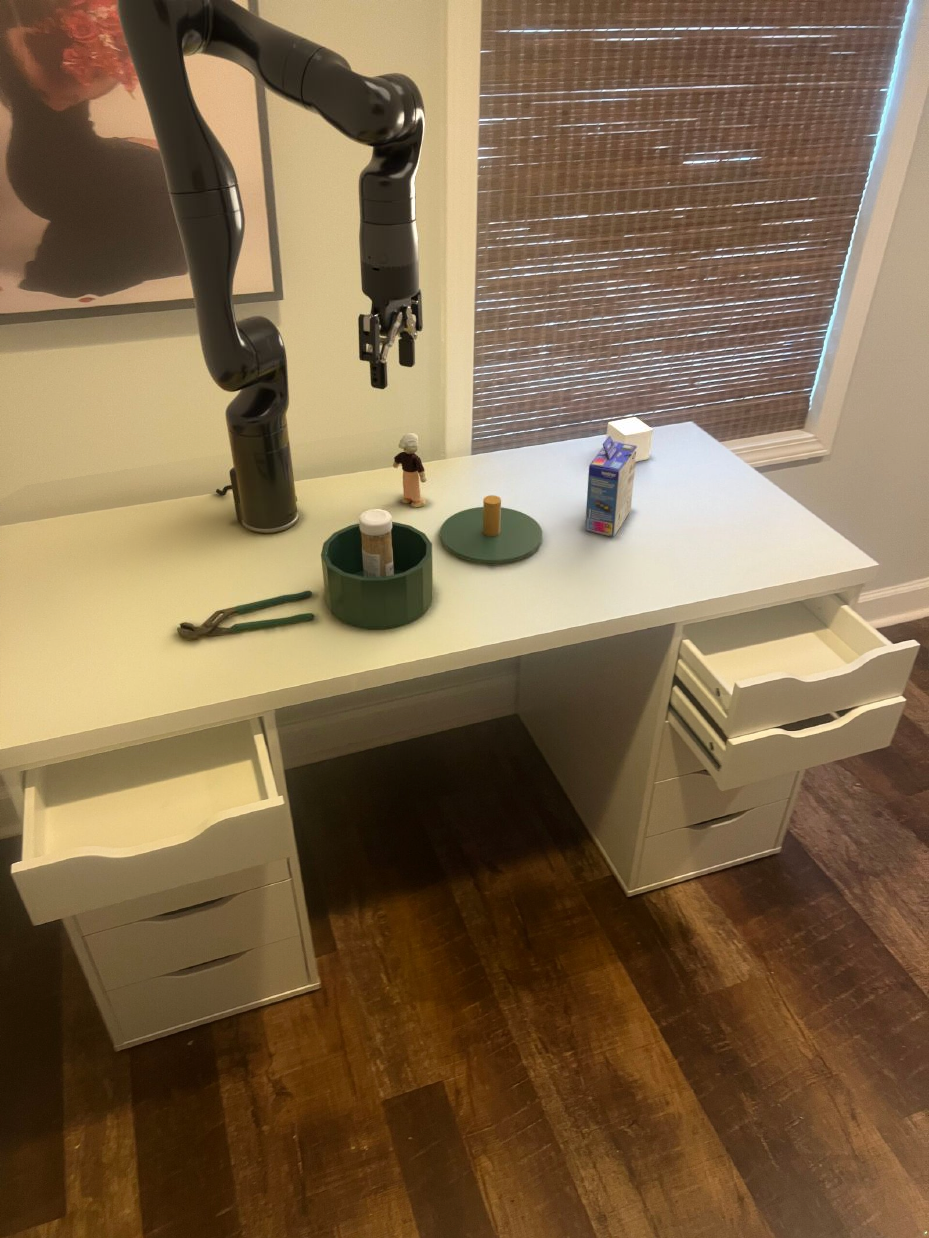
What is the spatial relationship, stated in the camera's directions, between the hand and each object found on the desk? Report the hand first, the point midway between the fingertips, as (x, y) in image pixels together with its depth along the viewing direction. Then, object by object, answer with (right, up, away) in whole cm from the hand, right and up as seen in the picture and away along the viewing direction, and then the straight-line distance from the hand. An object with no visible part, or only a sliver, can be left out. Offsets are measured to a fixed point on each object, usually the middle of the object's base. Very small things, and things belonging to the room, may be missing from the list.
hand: (393, 376), depth 126 cm
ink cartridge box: (+34, -17, +26) cm, 46 cm away
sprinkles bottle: (-3, -30, +8) cm, 31 cm away
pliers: (-21, -34, +4) cm, 40 cm away
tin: (-3, -31, +8) cm, 32 cm away
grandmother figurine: (+1, -13, +31) cm, 34 cm away
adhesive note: (+41, -3, +46) cm, 61 cm away
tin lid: (+14, -20, +21) cm, 32 cm away
